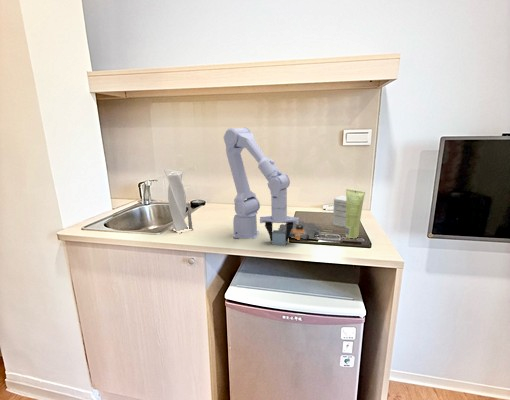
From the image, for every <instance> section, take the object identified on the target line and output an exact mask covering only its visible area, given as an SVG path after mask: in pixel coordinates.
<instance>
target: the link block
mask: <svg viewBox="0 0 510 400" xmlns="http://www.w3.org/2000/svg"><path fill="white" fill-rule="evenodd" d="M272 232H273V233H272V241H271V242H272V243H271V244H272V245H274V246H286V244H287V242H286V231H282V230H278V229H277V230H275V229H272Z"/></svg>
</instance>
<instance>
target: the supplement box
mask: <svg viewBox="0 0 510 400" xmlns="http://www.w3.org/2000/svg"><path fill="white" fill-rule="evenodd" d="M332 215H333V218H332V221H333V222H332V225H333V226H337V227H341V228H346V195H338V196H337V197H335V198H334V199H333V214H332Z"/></svg>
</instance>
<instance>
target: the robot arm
mask: <svg viewBox="0 0 510 400" xmlns="http://www.w3.org/2000/svg"><path fill="white" fill-rule="evenodd" d="M223 141H224V144H225V151H226V157H227V159H228V160H227V161H228V164H229V167H230V173H231V175H232V179H233V183H234V186H235V190H236V196H235V197H234V199H233V202H234V211H235V215H234V216H233V219H232V220H233V221H232V222H233V223H232V225H233V227H232V228H233V238H234V239H257V237H258V235H259V234H260V230H258V226H257V225H258V224H257V220H258V219H257V214H258V212H259V210H260V208H261V204H260V201H259V200H258V198H257V195H256V193H254V192H253V191H252V190H251V188H250V184H249V180H248V177H247V173H246V170H245V166H244V161H243V158H242V154H241V153H242V152H243V150H244V149H246V150H247V151H248V152H249V154H251V156H252V157H253V158H254V159H255V161H256V162H257V163H258V164H257V165H258V169H259V172H260V173H262V175H263V177H264V179H266V180H267V182H268V183H267V187H268V189H269V192H270V196H271V199H270V200H271V201H270V202H271V203H270V204H271V215H268V216H260V217H259V224H264V227H265V229H266V231H267V233H268V235H269V239H270V240H269V241H270V242H272V233H273V224H286V223H287V225H286V243H288V242H289V238H288V237H289V234H290V232H291V230H292V228H293V223H296V224H299V221H300V220H299V217H295V216H294V217H293V216H288V215H287V214H288V213H287V212H288V202H287V201H288V200H287V198H288V195H287V194H288V191H287V190H288V188H289V187H290V184H291V183H290V182H291V181H290V178H289V176H288V175H287V174H286V173H283V172H282V170H280V169H279V168H278V167H277V165H276V164H275V160H274V159H272V158H271V157H266V155H265V154H264V152H263V151H262V149H261V148H260V146H259V145H258V143H257V141H256V140H255V135H254V134H253V132H252V131H251V130H250V128H249V127H238V128H235V127H229V128H227V130H226V131H225V133H224V135H223Z"/></svg>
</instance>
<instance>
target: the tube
mask: <svg viewBox="0 0 510 400" xmlns="http://www.w3.org/2000/svg"><path fill="white" fill-rule="evenodd" d="M345 193H346V194H345V196H346V227H345V235H344V236H346V237H349V238H357V237H358V238H359V236H360V234H359V233H360V227H361V219H362V218H361V217H362V211H363V204H364V201H365V195H366V191H362V190H354V189H349V188H348V189H347V188H346V189H345ZM346 237H345V238H346Z"/></svg>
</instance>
